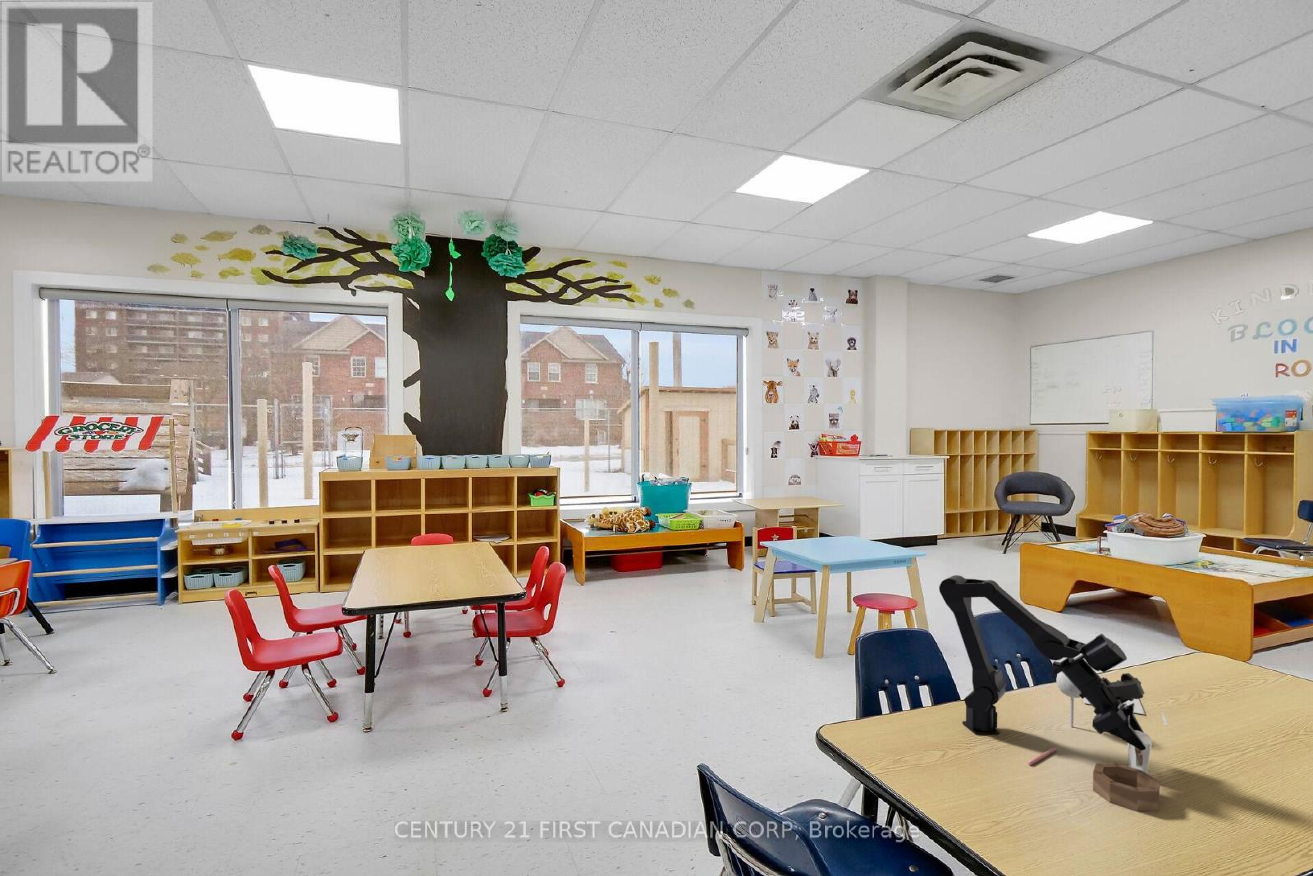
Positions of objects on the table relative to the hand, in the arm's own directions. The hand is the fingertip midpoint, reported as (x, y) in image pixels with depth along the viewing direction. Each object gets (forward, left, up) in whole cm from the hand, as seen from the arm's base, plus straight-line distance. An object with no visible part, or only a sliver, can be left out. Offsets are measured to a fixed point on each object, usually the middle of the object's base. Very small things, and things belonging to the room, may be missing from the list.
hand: (1145, 745), depth 141 cm
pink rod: (-17, +10, -7) cm, 21 cm away
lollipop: (+2, +25, -8) cm, 26 cm away
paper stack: (+28, +35, -8) cm, 45 cm away
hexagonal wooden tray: (-10, -6, -7) cm, 14 cm away
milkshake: (-1, +1, -7) cm, 7 cm away
